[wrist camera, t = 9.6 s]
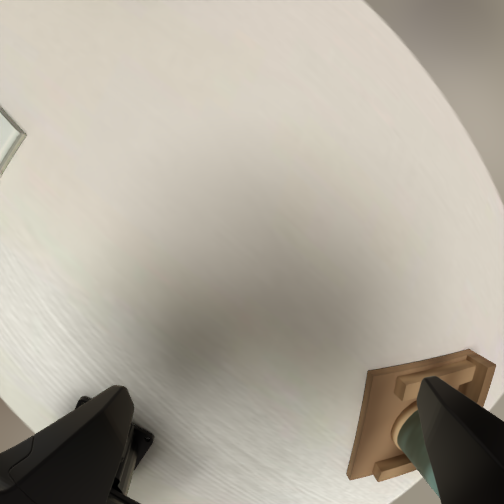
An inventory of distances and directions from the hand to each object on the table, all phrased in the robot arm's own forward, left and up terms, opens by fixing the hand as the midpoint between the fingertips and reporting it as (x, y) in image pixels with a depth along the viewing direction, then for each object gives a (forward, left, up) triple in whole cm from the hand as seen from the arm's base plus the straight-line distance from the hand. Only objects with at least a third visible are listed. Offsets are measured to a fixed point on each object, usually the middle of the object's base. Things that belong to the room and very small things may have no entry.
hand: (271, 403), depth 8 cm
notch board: (-2, -20, -12) cm, 23 cm away
